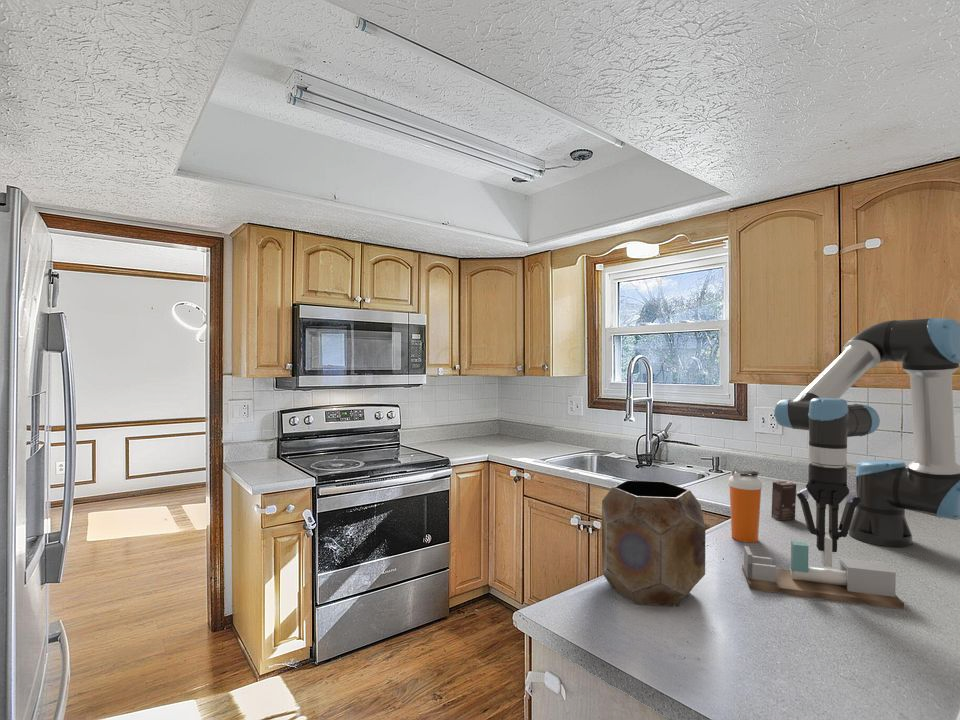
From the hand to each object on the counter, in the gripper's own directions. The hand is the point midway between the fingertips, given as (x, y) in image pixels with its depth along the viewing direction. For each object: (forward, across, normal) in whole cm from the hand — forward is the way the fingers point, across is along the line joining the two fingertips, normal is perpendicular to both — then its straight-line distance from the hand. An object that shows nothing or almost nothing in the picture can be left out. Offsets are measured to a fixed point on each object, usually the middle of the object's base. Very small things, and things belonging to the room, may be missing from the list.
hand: (826, 564), depth 124 cm
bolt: (+4, -3, 0) cm, 5 cm away
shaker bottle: (+6, +13, -31) cm, 34 cm away
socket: (+5, +14, 0) cm, 15 cm away
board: (+6, +2, 0) cm, 6 cm away
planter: (+6, +39, +14) cm, 42 cm away
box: (+6, -2, -56) cm, 56 cm away
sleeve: (+5, -8, 0) cm, 9 cm away
